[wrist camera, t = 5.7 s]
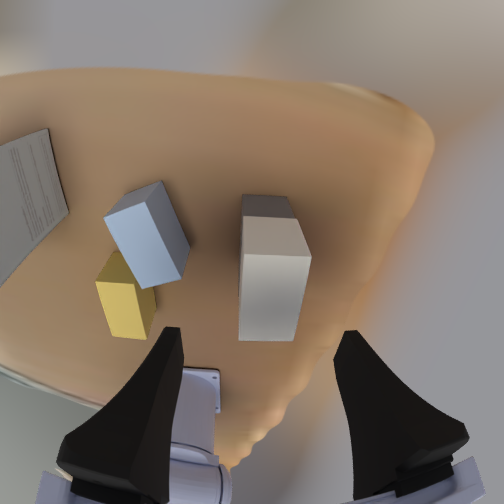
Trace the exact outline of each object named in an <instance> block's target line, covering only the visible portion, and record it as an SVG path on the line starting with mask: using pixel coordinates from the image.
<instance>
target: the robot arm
mask: <svg viewBox="0 0 504 504" xmlns="http://www.w3.org/2000/svg"><path fill="white" fill-rule="evenodd" d="M333 361H334V368H335V374H336V379H337V384H338V387H339V391H340V394H341V398H342V401H343V405H344V408H345V412H346V415H347V420H348V424H349V430H350V437H351V446H352V456H353V474H354V487H353V488H354V489H353V499H354V501H352V502H347V503H342V504H471V503H473V502H474V501H476V500H478V499H479V498H481V497H482V496H484V495H485V494H486V493H485V489H484V486H483V483H482V480H481V477H480V474H479V471H478V468H477V465H476V462H475V459H474V457H473V456H472V457H470V458H468V459H466V460H464V461H462V462H459V463H458V464H456V465H454V466H451V462H452V461H453V456H452V454H453V453H454V452H456V451H457V450H458V449H460V448H461V447H462V446H464V445H465V444H466V443H467V442H468V440H469V435H468V432H467V430H466V428H465V425H464V423H462V422H460V421H458V420H456V419H454V418H452V417H450V416H448V415H446V414H445V413H443V412H441V411H440V410H438V409H436V408H435V407H433V406H432V405H430V404H429V403H427V402H426V401H425V400H423V399H422V398H421V397H419V396H418V395H417V394H416V393H414V392H413V391H412V390H411V389H410V388H409V387H408V386H407V385H405V384H404V383H403V382H402V381H401V380H400V379H399V378H398V377H397V376H396V375H395V374H394V373H393V372H392V371H391V370H390V368H388V367H387V365H386V364H385V363H384V362H383V361H382V359H381V358H380V357H379V356H378V355H377V354H376V352H375V351H374V350H373V349H372V348H371V347H370V345H369V344H368V343H367V342H366V340H365V339H364V338H363V337H362V336H361V334H360V333H359V332H358V331H357V330H352V331H345V332H344V334H343V337H342V339H341V342H340V344H339V347H338V349H337V352H336V354H335V357H334V359H333ZM183 364H184V354H183V347H182V339H181V332H180V328H177V327H165V328H164V329H163V331H162V333H161V335H160V336H159V338H158V340H157V341H156V343H155V345H154V346H153V348H152V349H151V351H150V352H149V354H148V355H147V357H146V358H145V360H144V361H143V363H142V364H141V366H140V367H139V368H138V369H137V371H136V372H135V373H134V375H133V376H132V377H131V379H130V380H129V381H128V382H127V383H126V385H125V386H124V387H123V388H122V389H121V390H120V391H119V392H118V393H117V394H116V395H115V396H114V397H113V398H112V399H111V400H110V401H109V402H108V403H107V404H106V405H105V406H104V407H103V408H102V409H101V410H100V411H98V412H97V413H96V414H95V415H94V416H92V417H91V418H90V419H89V420H87V421H86V422H85V423H83V424H82V425H81V426H79V427H78V428H76V429H75V430H73V431H72V432H70V433H69V434H67V435H66V436H65V437H64V440H63V442H62V444H61V446H60V450H59V453H58V457H57V460H56V463H57V464H58V466H59V467H60V468H62V469H63V470H64V471H66V472H67V473H68V474H70V475H71V476H73V480H72V482H71V481H69V480H66V479H64V478H61V477H59V476H56V475H54V474H51V473H49V472H46V471H43V472H42V477H41V480H40V484H39V489H38V493H37V498H36V503H35V504H230V502H231V497H232V480H231V475H230V473H229V471H228V470H227V469H226V467H225V466H224V465H223V464H219V456H218V455H214V430H215V413H220V411H221V408H220V374H219V371H217V370H207V369H192V368H183Z"/></svg>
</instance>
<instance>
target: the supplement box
mask: <svg viewBox="0 0 504 504" xmlns="http://www.w3.org/2000/svg"><path fill="white" fill-rule="evenodd" d="M68 214H69V211H68V208H67V205H66V202H65V199H64V195H63V192H62V188H61V185H60V181H59V177H58V174H57V170H56V166H55V162H54V157H53V153H52V148H51V144H50V139H49V133H48V129H43V130H40V131H37V132H34V133H32V134H29V135H26V136H24V137H21V138H19V139H16V140H14V141H11V142H9V143H7V144H4V145H2V146H0V287H1V286H2V285H3V284H4V283H5V281H6V280H7V279H8V278H9V277H10V275H11V274H12V273H13V272H14V271H15V270H16V268H17V267H18V266H19V265H20V264H21V263H22V262H23V261H24V259H25V258H26V257H27V256H28V255H29V254H30V253H31V252H32V251H33V250H34V248H35V247H36V246H37V245H38V244H39V243H40V242H41V241H42V240H43V239H44V238H45V237H46V236H47V235H48V234H49V233H50V232H51V231H52V230H53V229H54V228H55V227H56V226H57V225H58V224H59V223H60V222H61V221H62V220H63V219H64V218H65V217H66V216H67V215H68Z"/></svg>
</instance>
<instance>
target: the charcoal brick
mask: <svg viewBox="0 0 504 504" xmlns="http://www.w3.org/2000/svg"><path fill="white" fill-rule="evenodd" d="M243 216H254V217H273V218H291V219H295V217H294V214H293V212H292V209H291V207H290V204H289V202H288V199H287V197H281V196H265V195H246V194H242V211H241V229H240V247H239V279H238V297H239V282H240V264H241V246H242V229H243Z"/></svg>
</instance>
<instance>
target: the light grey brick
mask: <svg viewBox="0 0 504 504" xmlns="http://www.w3.org/2000/svg"><path fill="white" fill-rule="evenodd" d="M311 258H312V256H311V254H310V251H309V248H308V246H307V243H306V240H305V238H304V235H303V233H302V230H301V228H300V225H299V222H298V220H297V219H291V218H273V217H254V216H243V229H242V246H241V264H240V282H239V340H240V341H293V339H294V335H295V331H296V327H297V323H298V318H299V314H300V310H301V305H302V301H303V296H304V292H305V287H306V282H307V278H308V273H309V268H310V263H311Z"/></svg>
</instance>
